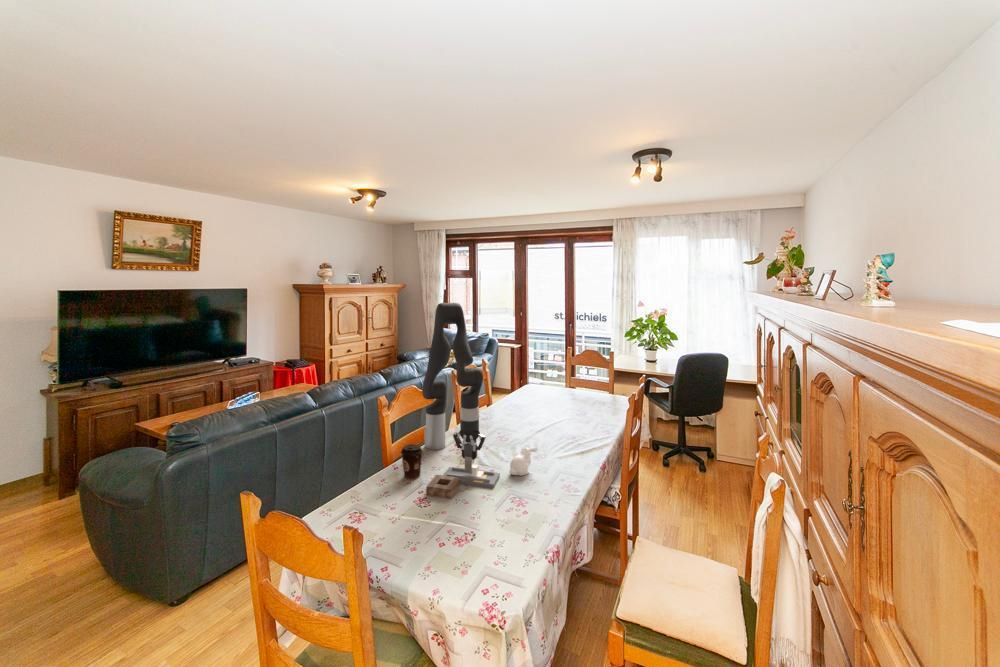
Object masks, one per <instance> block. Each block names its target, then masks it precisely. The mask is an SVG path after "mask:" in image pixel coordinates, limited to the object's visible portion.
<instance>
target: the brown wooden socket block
mask: <svg viewBox="0 0 1000 667" xmlns="http://www.w3.org/2000/svg"><path fill="white" fill-rule="evenodd" d="M460 487H461V484H460V478H459V477H451V476H443V474H441V475H440V474H436V475H434V477H433V478H432V479H431V480H430V482H428V484H427V485H426V487H425V489H426V490H425V491H426V492H425V493H426V496H429V497H437V498H443V499H449V500H450V499H451V500H452V499H453V498H454V496H455V494H456V493H457V492H458V490H459V489H460Z"/></svg>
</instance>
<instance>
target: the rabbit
mask: <svg viewBox="0 0 1000 667" xmlns="http://www.w3.org/2000/svg"><path fill="white" fill-rule="evenodd" d="M537 449H538V447H537V446H536V447H526V446H524V447H523V448H522V449H521V451H520V454H519V455H515V456H514V457H512V459H511V461H510V463H509V467H510V468H509V471H508V472H509V474H510V475H512V476H519V477H522V475H523V476H526V475H529V474H528V473H530V472H529V471H528V470H529V467H530V465H531V463H532V460H531V458H532V457H531V453H537V451H538V450H537ZM525 474H526V475H525Z"/></svg>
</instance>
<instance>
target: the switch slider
mask: <svg viewBox="0 0 1000 667" xmlns="http://www.w3.org/2000/svg"><path fill="white" fill-rule="evenodd" d="M479 467H480V464H475V463H474V465H473V467H472V475H471V476H472V477H480V478H482V476H483V475H484V472H483V471H484V470H483V471H479V470H480V468H479Z"/></svg>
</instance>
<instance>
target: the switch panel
mask: <svg viewBox="0 0 1000 667" xmlns="http://www.w3.org/2000/svg"><path fill="white" fill-rule="evenodd" d="M479 471H483V472H484V475H483V476H482V478H480V477H472V476H471V475H472V474H469V473H465V467H458V466H452V467H451V466H449V467H448V468H447V469H446V471H444V473H443V474H442V475H443V476H451V477H459V478H460V485H468V486H476V487H483V488H489V489H494V488H495V486H496V485H497V482H498V481H499V479H500V476H501V474H500V472H495V471H491V470H482V469H479Z"/></svg>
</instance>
